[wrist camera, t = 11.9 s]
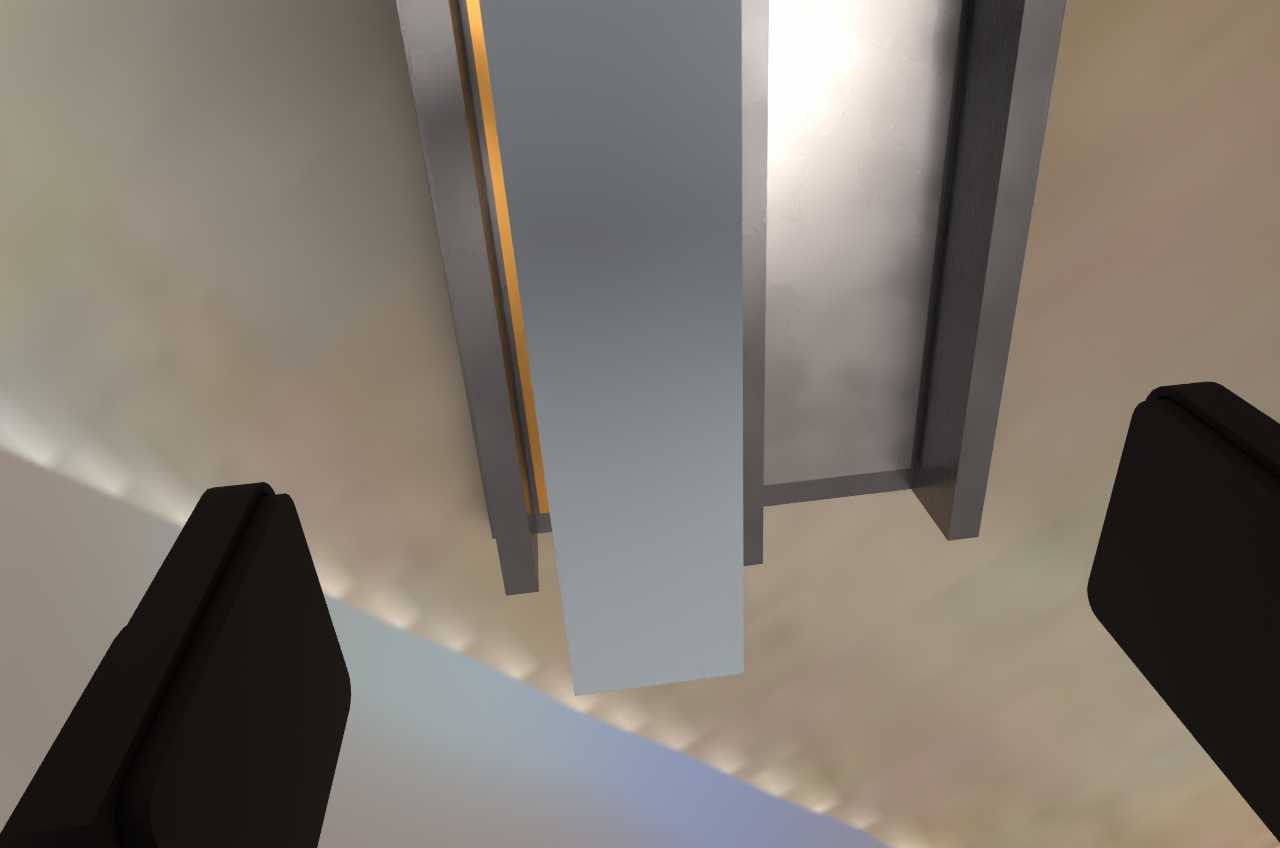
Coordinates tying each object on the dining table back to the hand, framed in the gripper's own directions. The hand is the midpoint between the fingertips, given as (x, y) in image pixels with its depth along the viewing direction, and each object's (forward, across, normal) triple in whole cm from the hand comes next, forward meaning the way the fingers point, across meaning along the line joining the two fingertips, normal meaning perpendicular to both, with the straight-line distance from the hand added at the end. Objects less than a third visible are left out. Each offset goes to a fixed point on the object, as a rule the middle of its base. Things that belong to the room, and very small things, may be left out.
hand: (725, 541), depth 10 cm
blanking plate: (+16, 0, 0) cm, 16 cm away
